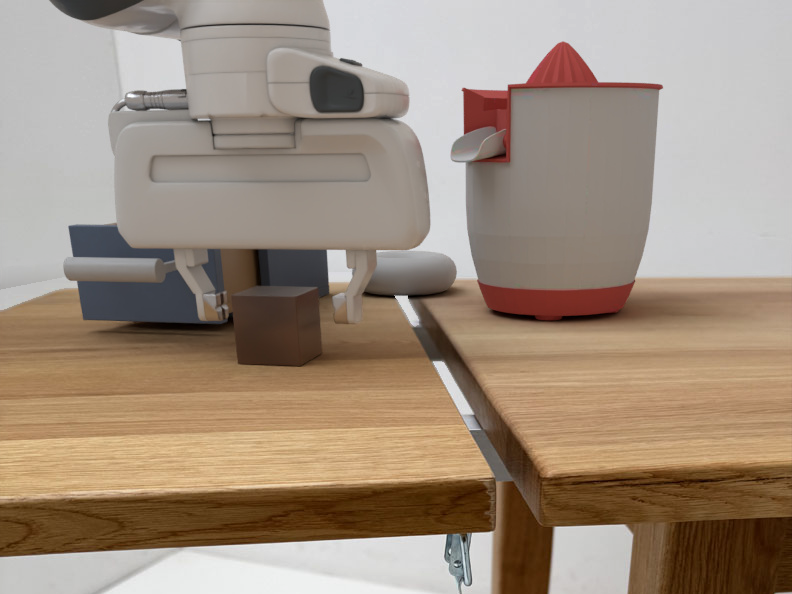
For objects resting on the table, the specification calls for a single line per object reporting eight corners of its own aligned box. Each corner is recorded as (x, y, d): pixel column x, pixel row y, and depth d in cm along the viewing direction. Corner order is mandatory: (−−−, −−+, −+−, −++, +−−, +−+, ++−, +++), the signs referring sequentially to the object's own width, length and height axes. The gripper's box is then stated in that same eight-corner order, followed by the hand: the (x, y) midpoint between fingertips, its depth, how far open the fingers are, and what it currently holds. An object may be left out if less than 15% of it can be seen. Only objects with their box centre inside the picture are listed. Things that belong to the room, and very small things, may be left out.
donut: (371, 284, 104) (337, 296, 95) (370, 248, 102) (336, 257, 93) (467, 287, 101) (442, 299, 93) (467, 250, 100) (441, 259, 91)
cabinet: (272, 318, 84) (263, 206, 80) (132, 314, 86) (117, 204, 83) (329, 293, 97) (323, 195, 93) (206, 290, 99) (195, 195, 96)
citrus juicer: (411, 309, 88) (403, 44, 80) (568, 292, 97) (577, 51, 88) (518, 335, 76) (523, 27, 68) (687, 313, 85) (710, 37, 76)
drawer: (192, 336, 72) (180, 233, 69) (45, 331, 74) (28, 231, 71) (286, 298, 88) (279, 213, 85) (164, 295, 90) (153, 212, 87)
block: (237, 363, 67) (230, 294, 66) (262, 351, 71) (256, 285, 69) (300, 366, 67) (295, 296, 65) (322, 353, 70) (318, 286, 69)
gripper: (77, 89, 61) (113, 325, 67) (408, 80, 57) (415, 333, 63) (129, 92, 67) (158, 311, 73) (433, 85, 63) (438, 316, 69)
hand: (280, 321), depth 68 cm, fingers open, 8 cm apart
